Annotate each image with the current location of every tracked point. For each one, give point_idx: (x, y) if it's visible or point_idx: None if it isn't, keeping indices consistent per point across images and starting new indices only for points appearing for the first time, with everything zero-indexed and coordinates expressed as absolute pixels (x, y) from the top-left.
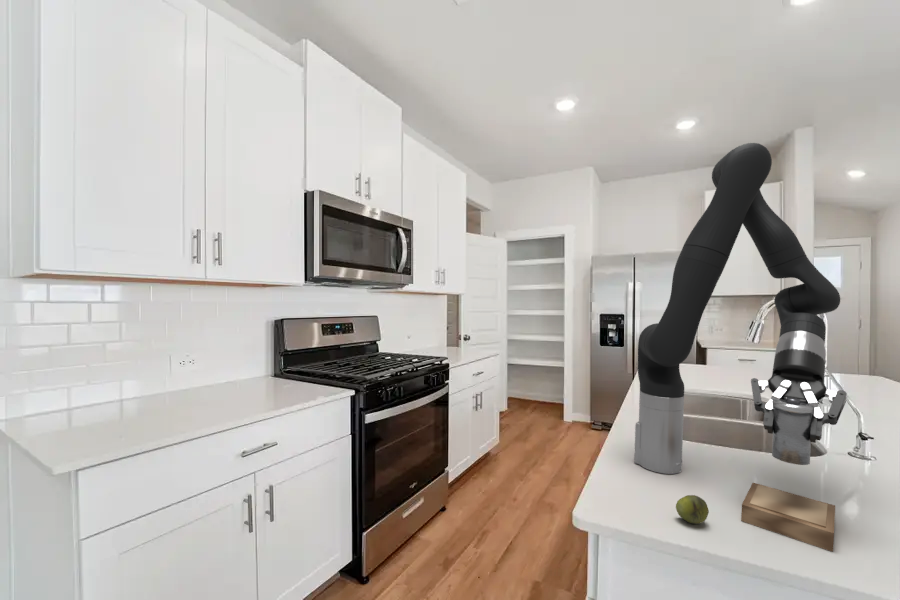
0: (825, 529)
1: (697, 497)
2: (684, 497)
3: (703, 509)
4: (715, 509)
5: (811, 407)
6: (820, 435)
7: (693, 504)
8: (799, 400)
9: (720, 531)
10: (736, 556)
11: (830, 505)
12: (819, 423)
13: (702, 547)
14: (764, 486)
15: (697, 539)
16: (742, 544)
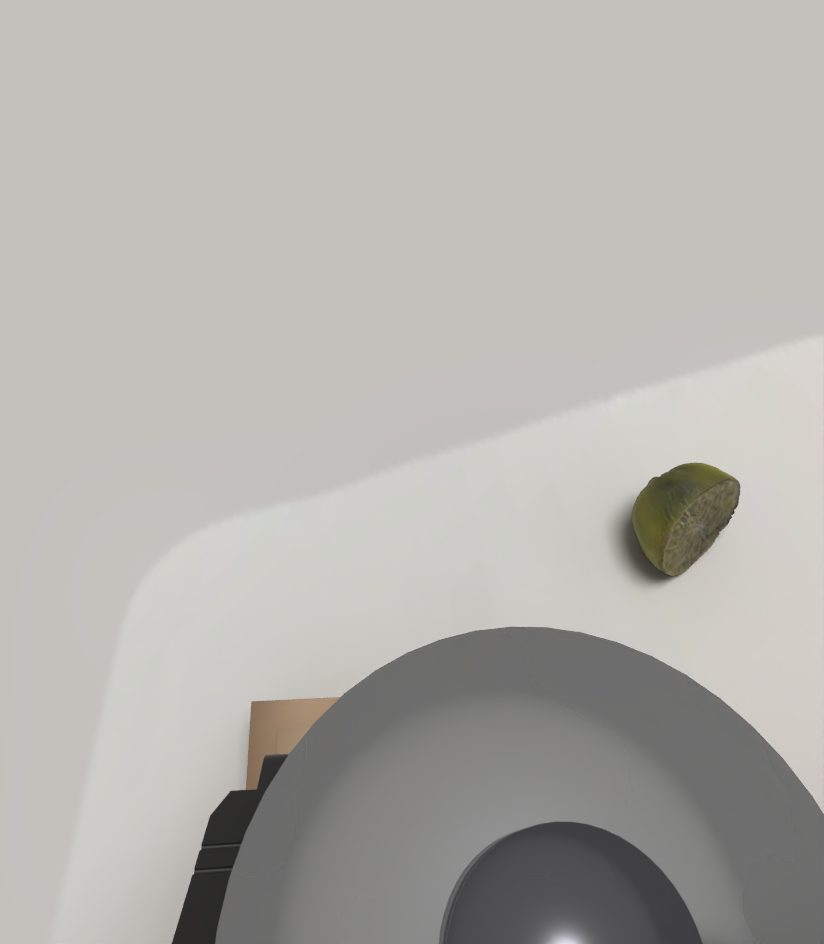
0: (279, 714)
1: (691, 484)
2: (726, 474)
3: (649, 488)
4: None
5: (263, 855)
6: (222, 802)
7: (682, 468)
8: (455, 899)
9: (581, 554)
10: (495, 445)
11: None
12: (202, 931)
13: (576, 421)
14: None
15: (605, 451)
16: (504, 524)
